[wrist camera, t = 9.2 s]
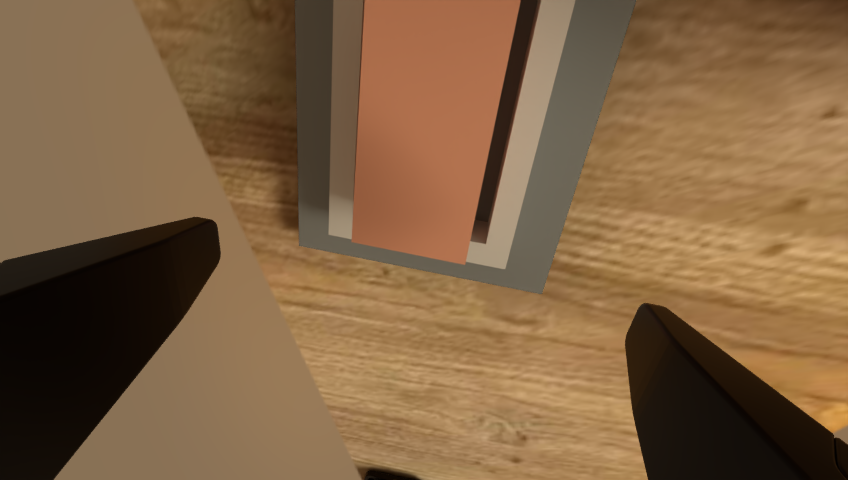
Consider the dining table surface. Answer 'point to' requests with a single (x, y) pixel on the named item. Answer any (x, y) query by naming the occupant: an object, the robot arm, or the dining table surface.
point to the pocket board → (510, 145)
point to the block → (427, 120)
